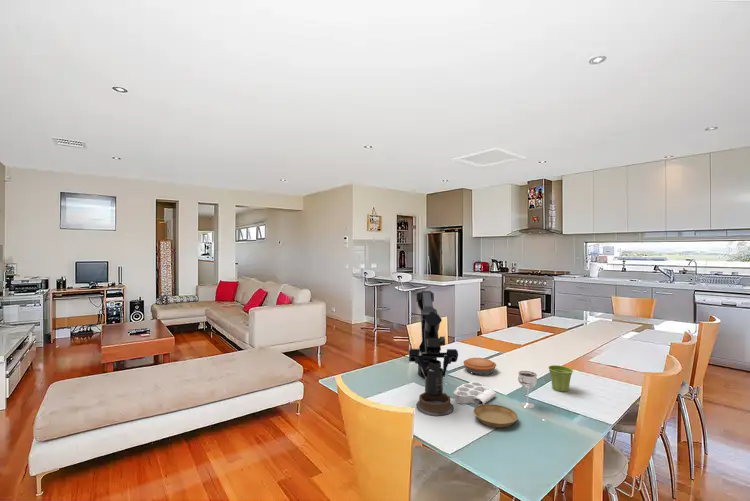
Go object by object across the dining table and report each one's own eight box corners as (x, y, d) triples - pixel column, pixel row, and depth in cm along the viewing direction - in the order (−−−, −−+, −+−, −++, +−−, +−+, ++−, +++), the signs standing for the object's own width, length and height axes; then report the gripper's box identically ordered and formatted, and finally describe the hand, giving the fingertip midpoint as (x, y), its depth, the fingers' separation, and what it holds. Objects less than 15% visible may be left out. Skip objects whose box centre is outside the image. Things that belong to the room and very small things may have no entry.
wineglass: (535, 410, 133) (535, 378, 132) (516, 406, 136) (516, 374, 136) (538, 403, 138) (538, 372, 138) (519, 399, 142) (519, 369, 142)
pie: (500, 376, 167) (500, 366, 167) (467, 376, 168) (467, 366, 167) (490, 365, 183) (490, 355, 183) (460, 365, 183) (460, 355, 183)
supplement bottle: (441, 389, 140) (442, 358, 139) (444, 397, 133) (445, 364, 132) (423, 388, 140) (424, 358, 139) (425, 396, 133) (426, 364, 133)
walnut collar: (441, 397, 145) (441, 388, 145) (461, 412, 132) (461, 402, 132) (410, 402, 140) (410, 393, 140) (427, 418, 127) (427, 408, 127)
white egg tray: (479, 410, 134) (445, 399, 144) (499, 395, 147) (466, 386, 157) (479, 401, 134) (445, 391, 144) (499, 387, 147) (466, 378, 157)
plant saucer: (465, 420, 126) (465, 413, 126) (486, 407, 137) (486, 400, 137) (505, 436, 116) (505, 428, 116) (524, 420, 126) (524, 412, 126)
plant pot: (552, 383, 159) (552, 363, 159) (576, 389, 152) (576, 368, 152) (544, 389, 152) (544, 368, 152) (568, 395, 145) (568, 374, 145)
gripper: (408, 328, 140) (410, 366, 129) (457, 328, 139) (462, 367, 128) (408, 342, 148) (409, 379, 137) (454, 343, 147) (458, 380, 136)
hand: (434, 376), depth 135 cm, fingers closed on supplement bottle, 7 cm apart
